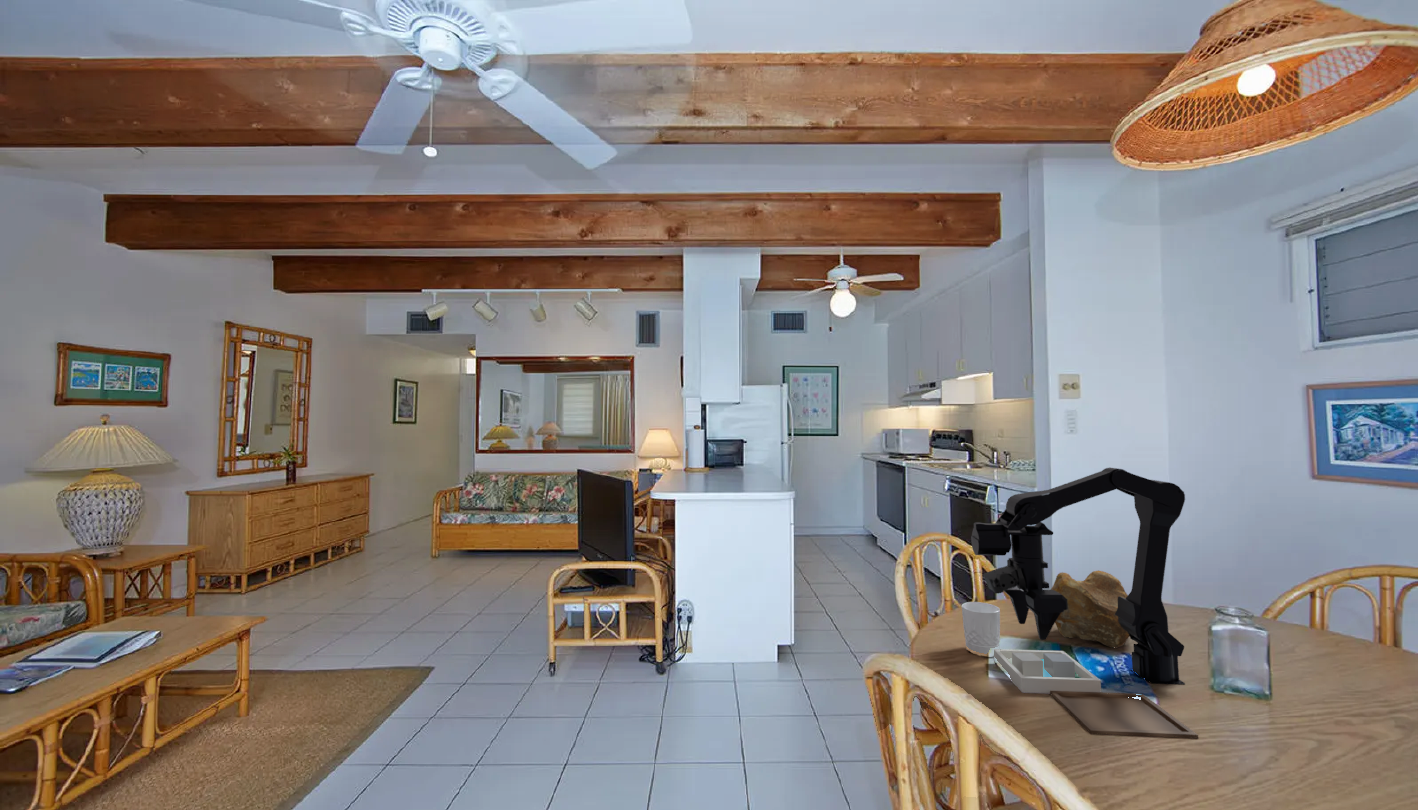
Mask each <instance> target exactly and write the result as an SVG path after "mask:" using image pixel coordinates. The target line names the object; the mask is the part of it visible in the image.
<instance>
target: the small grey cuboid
mask: <svg viewBox="0 0 1418 810" xmlns="http://www.w3.org/2000/svg"><path fill="white" fill-rule="evenodd" d="M1012 665H1013V666H1014V667H1015V668H1016V669H1017V670H1018V671H1019V672H1020V673H1021V674H1022V675H1023V676H1032V677H1043V661H1042V660H1041V659H1040V658H1038V657H1037V656H1036V655H1034V654H1033V653H1012Z"/></svg>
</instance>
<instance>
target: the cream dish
mask: <svg viewBox="0 0 1418 810" xmlns="http://www.w3.org/2000/svg"><path fill="white" fill-rule="evenodd" d="M1012 653H1033V654H1034V655H1036V656H1037V657H1038V658H1040V659H1044V655H1043V653H1050V654H1065V655H1066V656H1068V657H1069V658H1070V659H1071V660H1073V661H1074V663H1075V672H1076V674H1078V676H1079V677H1081V678H1065V677H1032V676H1023V675H1022V674H1021V673H1020V672H1019V671H1018V670H1017V669H1016V668H1015V667H1014V666H1013V665H1012V664H1011V663H1010V662H1009V661H1008V659H1010V658H1012ZM994 657H995V658H996V659H997V661H998V662H999V663H1000V664H1001V665H1002V667H1003V668H1004V669H1005V670H1006V671H1007V672H1008V674H1009V675H1010V678H1011V680H1012V681H1011V680H1010V681H1011V682H1012V683H1013V685H1015V687H1016V686H1017V687H1018V688H1017V687H1016V688H1017V689H1018V690H1019V691H1020V692H1021V693H1022V694H1024V693H1025V694H1049V695H1051V694H1050V691H1074V692H1102V683H1101V682H1102V680H1101V679H1100V678H1098V677H1097V676H1096V675H1095V674H1094V673H1092V672H1090V671H1089V670H1088V669H1087V668H1085V667H1084V666H1083V665H1082V664H1081V663H1079V662H1078V661H1077V660H1075V658H1073V657H1071V656H1070V655H1069V653H1066V651H1064V650H1040V649H1039V650H1038V649H1006V648H1005V649H1004V648H1003V649H1000V648H999V649H994ZM994 657H993V658H994ZM1007 658H1008V659H1007Z"/></svg>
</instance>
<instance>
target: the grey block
mask: <svg viewBox="0 0 1418 810" xmlns="http://www.w3.org/2000/svg"><path fill="white" fill-rule="evenodd" d="M1043 655H1044V669H1045V670H1046V671H1047V672H1048V673H1049V674H1050V675H1051V676H1052V677H1065V678H1075V663H1074V661H1073V660H1071V659H1070V658H1069V657H1068V656H1066V655H1065V654H1050V653H1043Z"/></svg>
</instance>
